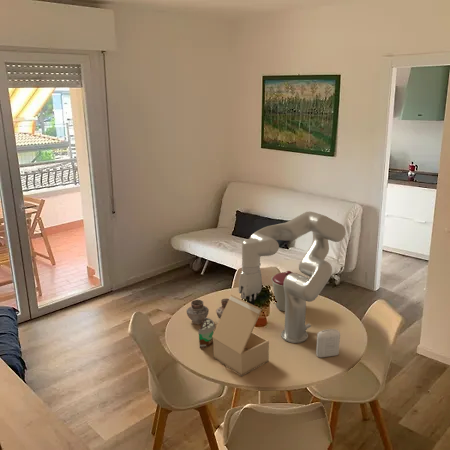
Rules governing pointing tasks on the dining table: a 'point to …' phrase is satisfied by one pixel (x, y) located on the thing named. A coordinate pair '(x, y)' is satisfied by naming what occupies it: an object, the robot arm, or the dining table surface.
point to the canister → (280, 289)
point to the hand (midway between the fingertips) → (250, 307)
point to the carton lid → (236, 323)
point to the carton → (243, 354)
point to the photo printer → (328, 343)
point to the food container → (206, 333)
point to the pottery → (203, 310)
